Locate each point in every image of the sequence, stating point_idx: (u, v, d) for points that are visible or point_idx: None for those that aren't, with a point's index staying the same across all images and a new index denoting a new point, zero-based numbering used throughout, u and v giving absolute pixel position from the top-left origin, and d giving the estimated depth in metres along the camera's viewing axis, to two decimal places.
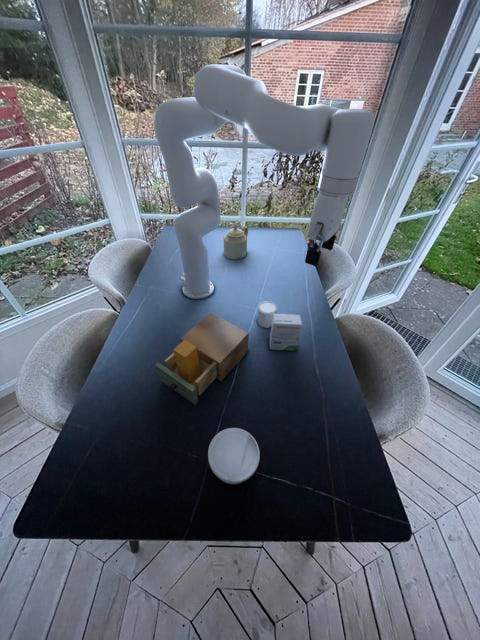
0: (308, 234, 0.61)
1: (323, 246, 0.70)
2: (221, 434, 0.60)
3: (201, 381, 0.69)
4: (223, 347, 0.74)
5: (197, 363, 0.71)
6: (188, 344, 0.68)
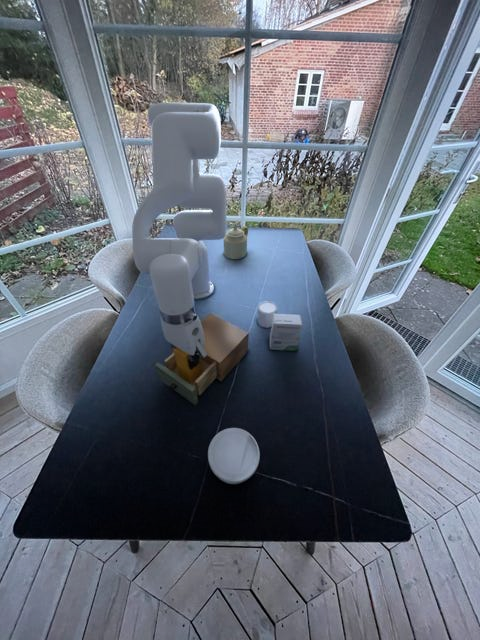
0: None
1: None
2: (221, 434, 0.60)
3: (201, 381, 0.69)
4: (223, 347, 0.74)
5: None
6: None
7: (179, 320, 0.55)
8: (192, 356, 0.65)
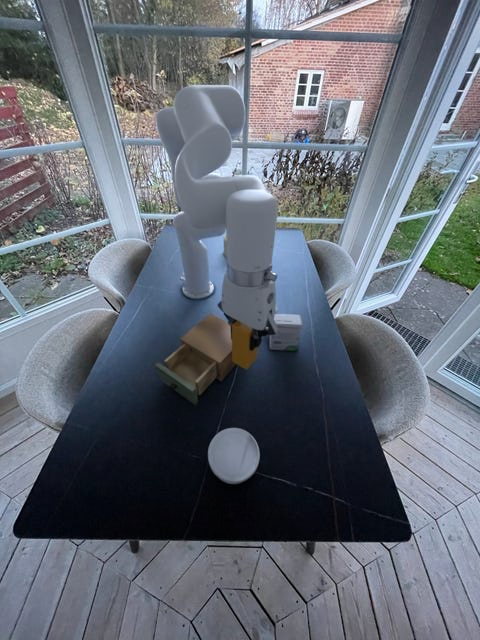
0: None
1: None
2: (221, 434, 0.60)
3: (201, 381, 0.69)
4: (223, 347, 0.74)
5: None
6: None
7: (255, 280, 0.43)
8: (258, 332, 0.52)
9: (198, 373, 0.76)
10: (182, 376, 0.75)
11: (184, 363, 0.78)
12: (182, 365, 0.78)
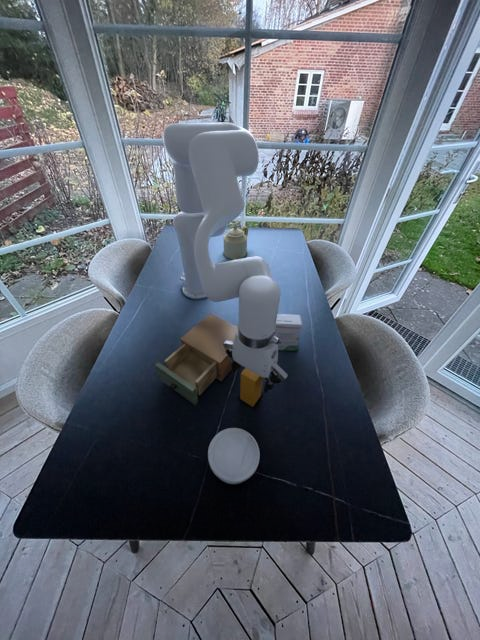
0: None
1: None
2: (221, 434, 0.60)
3: (201, 381, 0.69)
4: (223, 347, 0.74)
5: (261, 385, 0.69)
6: None
7: (262, 344, 0.52)
8: (270, 379, 0.60)
9: (198, 373, 0.76)
10: (182, 376, 0.75)
11: (184, 363, 0.78)
12: (182, 365, 0.78)
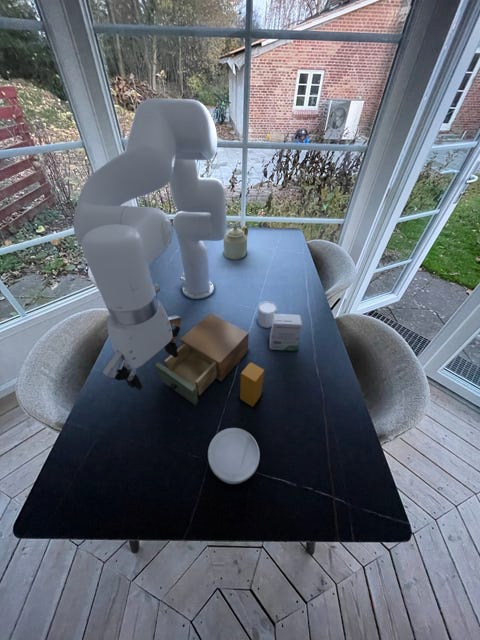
0: None
1: (167, 352, 0.57)
2: (221, 434, 0.60)
3: (201, 381, 0.69)
4: (223, 347, 0.74)
5: (261, 385, 0.69)
6: (255, 367, 0.65)
7: (156, 300, 0.43)
8: (172, 336, 0.53)
9: (198, 373, 0.76)
10: (182, 376, 0.75)
11: (184, 363, 0.78)
12: (182, 365, 0.78)
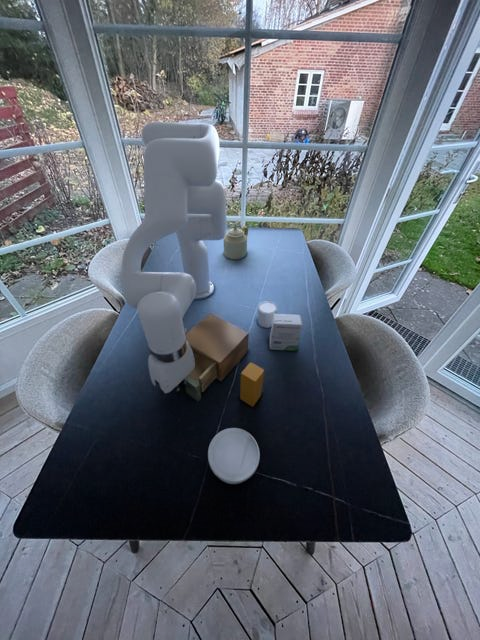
0: (153, 383, 0.60)
1: None
2: (221, 434, 0.60)
3: (205, 378, 0.70)
4: (223, 347, 0.74)
5: (261, 385, 0.69)
6: (255, 367, 0.65)
7: None
8: None
9: (201, 370, 0.76)
10: None
11: None
12: None
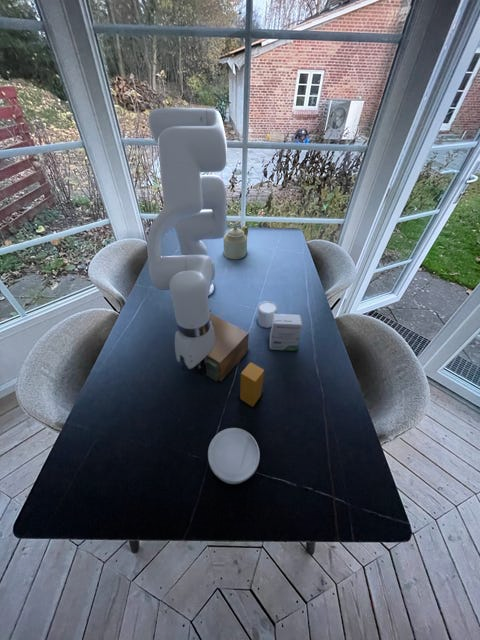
0: (177, 360, 0.65)
1: None
2: (221, 434, 0.60)
3: None
4: (223, 347, 0.74)
5: (261, 385, 0.69)
6: (255, 367, 0.65)
7: None
8: None
9: None
10: None
11: None
12: None
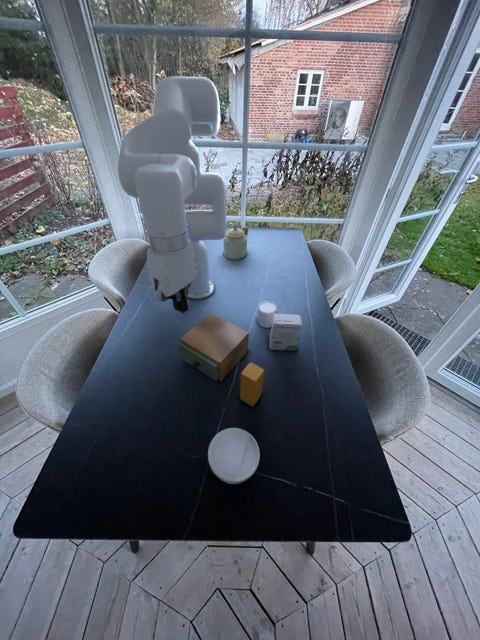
0: (152, 288, 0.56)
1: None
2: (221, 434, 0.60)
3: None
4: (223, 347, 0.74)
5: (261, 385, 0.69)
6: (255, 367, 0.65)
7: None
8: None
9: None
10: None
11: None
12: None
